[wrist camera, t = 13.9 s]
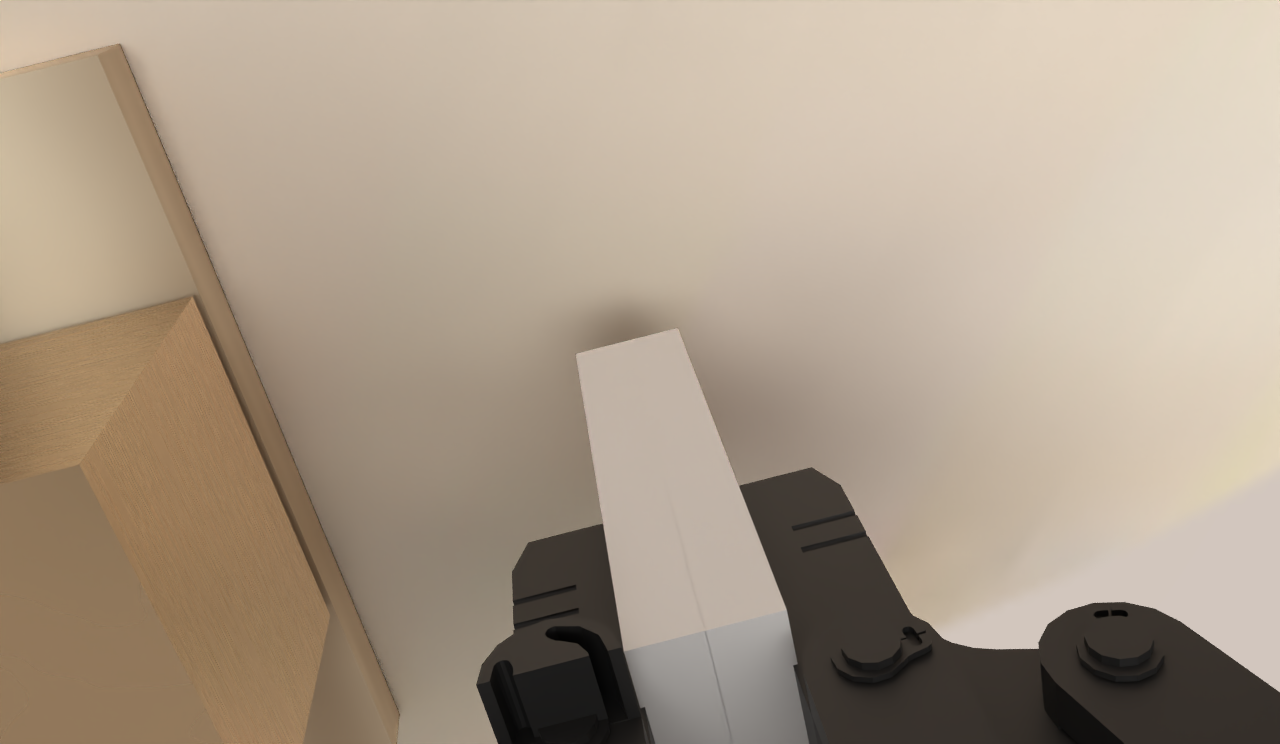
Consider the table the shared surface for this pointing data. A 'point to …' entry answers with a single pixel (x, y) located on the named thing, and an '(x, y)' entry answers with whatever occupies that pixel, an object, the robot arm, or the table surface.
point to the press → (150, 303)
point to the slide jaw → (144, 547)
